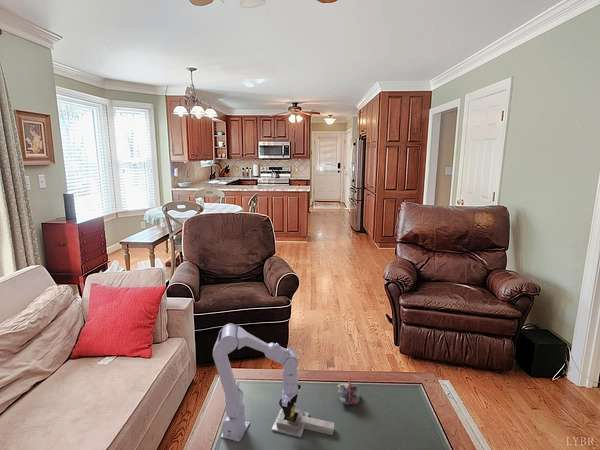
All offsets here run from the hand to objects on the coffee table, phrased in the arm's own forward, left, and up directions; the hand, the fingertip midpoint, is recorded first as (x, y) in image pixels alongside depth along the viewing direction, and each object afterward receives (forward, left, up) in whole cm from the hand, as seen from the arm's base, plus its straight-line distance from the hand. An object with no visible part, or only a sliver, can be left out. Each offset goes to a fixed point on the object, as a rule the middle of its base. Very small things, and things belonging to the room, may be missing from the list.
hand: (290, 409), depth 140 cm
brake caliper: (+19, -20, -7) cm, 29 cm away
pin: (0, 0, -7) cm, 7 cm away
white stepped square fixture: (0, -6, -6) cm, 9 cm away
